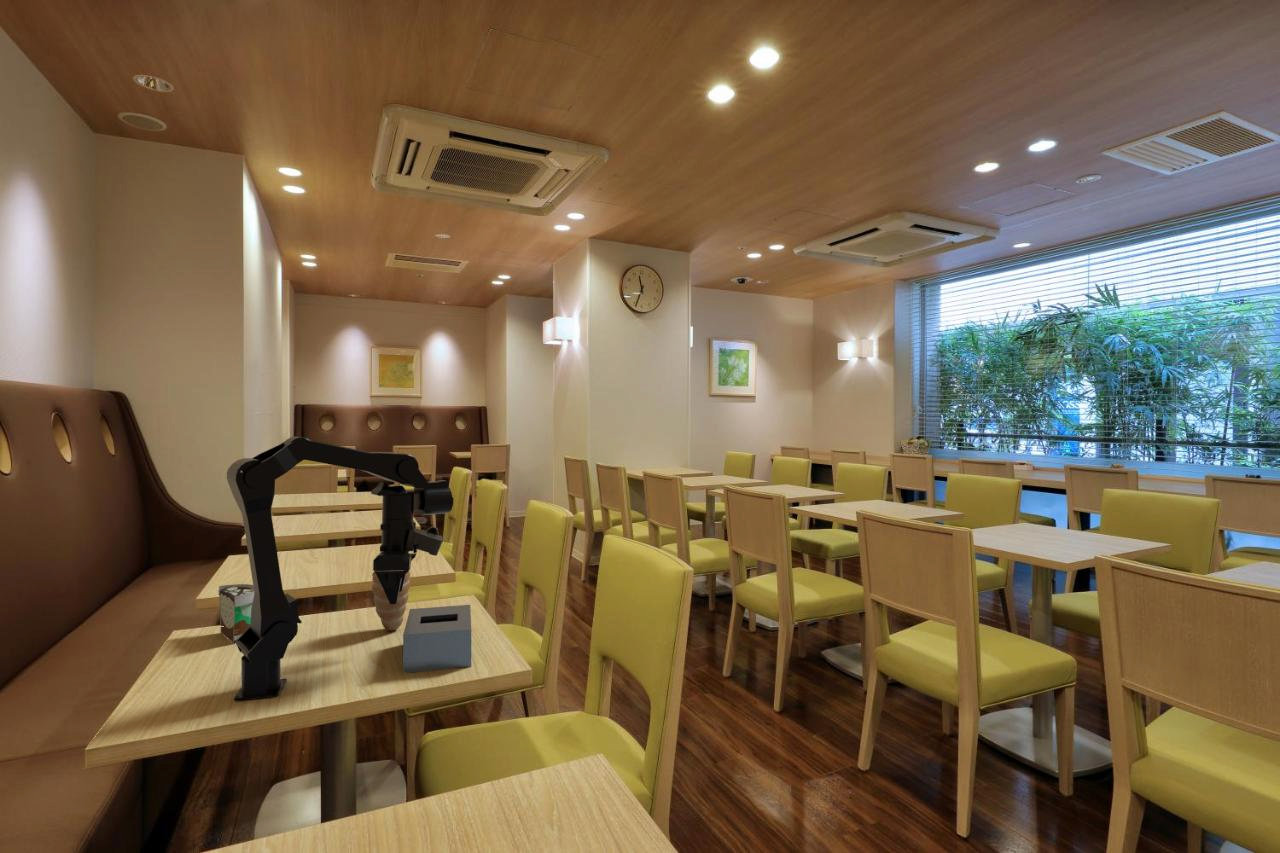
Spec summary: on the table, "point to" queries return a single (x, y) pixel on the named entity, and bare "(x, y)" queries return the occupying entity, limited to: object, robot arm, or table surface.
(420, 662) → the box
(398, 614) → the tan ribbed tall piece
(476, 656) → the table surface
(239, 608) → the food container
